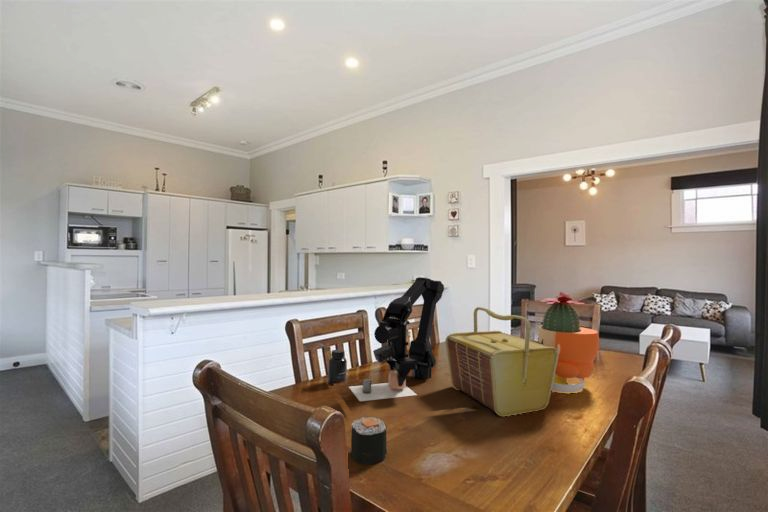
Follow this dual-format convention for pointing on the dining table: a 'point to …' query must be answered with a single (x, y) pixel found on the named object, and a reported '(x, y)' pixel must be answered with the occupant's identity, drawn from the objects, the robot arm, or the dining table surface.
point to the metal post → (366, 386)
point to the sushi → (368, 440)
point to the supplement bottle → (337, 367)
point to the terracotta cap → (394, 380)
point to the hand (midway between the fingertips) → (397, 383)
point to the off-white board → (380, 392)
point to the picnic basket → (502, 368)
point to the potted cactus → (568, 342)
